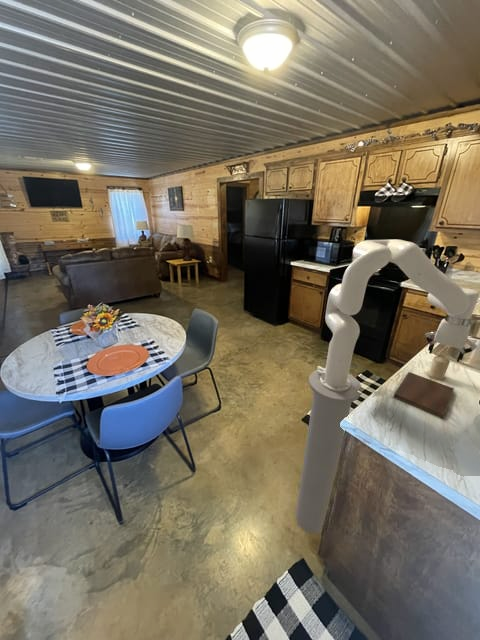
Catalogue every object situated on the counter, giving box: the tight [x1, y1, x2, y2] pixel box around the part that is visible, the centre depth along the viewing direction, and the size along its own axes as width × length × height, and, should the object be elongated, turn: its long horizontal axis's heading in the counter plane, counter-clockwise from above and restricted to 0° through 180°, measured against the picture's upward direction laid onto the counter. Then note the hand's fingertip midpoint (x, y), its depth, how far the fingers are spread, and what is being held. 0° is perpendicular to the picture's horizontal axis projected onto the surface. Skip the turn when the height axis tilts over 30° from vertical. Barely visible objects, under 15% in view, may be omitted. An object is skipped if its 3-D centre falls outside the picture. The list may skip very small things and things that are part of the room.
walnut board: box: [393, 371, 454, 419], centre depth 104 cm, size 16×20×2 cm
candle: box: [428, 354, 451, 381], centre depth 113 cm, size 6×6×10 cm
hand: (443, 356), depth 111 cm, fingers open, 9 cm apart
